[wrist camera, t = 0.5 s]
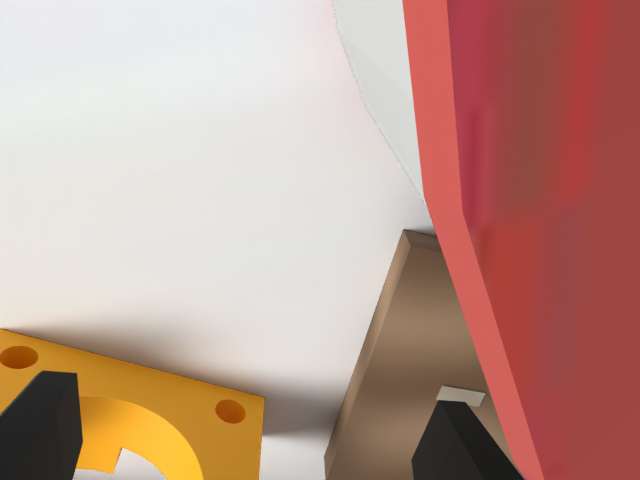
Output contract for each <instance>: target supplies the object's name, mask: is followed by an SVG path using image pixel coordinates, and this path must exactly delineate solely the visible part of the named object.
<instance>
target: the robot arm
mask: <svg viewBox="0 0 640 480" xmlns="http://www.w3.org/2000/svg"><path fill="white" fill-rule="evenodd" d="M82 444H83V435H82V424H81V412H80V401H79V390H78V378H77V373H71V372H57V371H44V370H43V371H41V372H40V373H38V374H37V375H36V376H35V377H34V378H33V379H32V380H31V381H30V382H29V384H28V385H27V386H26V387H25V388H24V389H23V390H22V391H21V392H20V393H19V394H18V396H17V397H16V398H15V399H14V400H13V401H12V402H11V403H10V404H9V405H8V406H7V407H6V409H5V410H4V411H3V412H2V413H1V414H0V480H72V479H73V475H74V472H75V469H76V465H77V462H78V458H79V455H80V451H81V448H82ZM411 462H412V470H413V478H414V480H524V478H523V477H522V476H521V474H520V473H519V472H518V471H517V469H516V468H515V467H514V465H513V464H512V463H511V461H510V460H509V459H508V458H507V456H506V455H505V454H504V452H503V451H502V450H501V448H500V447H499V446H498V444H497V443H496V442H495V440H494V439H493V438H492V436H491V435H490V434H489V432H488V431H487V430H486V428H485V427H484V426H483V424H482V423H481V422H480V420H479V419H478V418H477V416H476V415H475V414H474V412H473V411H472V410H471V408H470V407H469V406H468V404H467V403H466V402H461V401H447V400H438V402H437V404H436V406H435V408H434V411H433V413H432V415H431V417H430V419H429V422H428V424H427V426H426V428H425V431H424V433H423V435H422V437H421V439H420V442H419V444H418V446H417V448H416V450H415V453H414V455H413V457H412V459H411Z"/></svg>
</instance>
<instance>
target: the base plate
mask: <svg viewBox="0 0 640 480" xmlns="http://www.w3.org/2000/svg"><path fill="white" fill-rule="evenodd" d="M438 400H447V401H461V402H466V403H467V404H468V406H469V407H470V408H471V410H472V411H473V412H474V414H475V415H476V416H477V418H478V419H479V420H480V422H481V423H482V424H483V426H484V427H485V428H486V430H487V431H488V432H489V434H490V435H491V436H492V438H493V439H494V440H495V442H496V443H497V444H498V446H499V447H500V448H501V450H502V451H503V452H504V454H505V455H506V456H507V458H508V459H509V460H510V461H511V463H512V464H513V465H514V467H515V468H516V469H517V471H518V472H519V473H520V474H521V476H522V477H523V478H524V476H523V474H522V473H521V471H520V470H519V468H518V467H517V466H516V464H515V463H514V461H513V459H512V456H511V453H510V450H509V447H508V444H507V441H506V438H505V435H504V432H503V429H502V426H501V423H500V420H499V417H498V414H497V411H496V408H495V405H494V402H493V400H492V397H491V394H490V391H489V388H488V385H487V382H486V379H485V376H484V373H483V370H482V367H481V364H480V361H479V358H478V355H477V352H476V349H475V346H474V343H473V340H472V338H471V335H470V332H469V329H468V326H467V323H466V320H465V317H464V314H463V311H462V308H461V305H460V302H459V299H458V296H457V293H456V290H455V287H454V284H453V281H452V279H451V276H450V273H449V270H448V267H447V264H446V261H445V258H444V255H443V252H442V249H441V246H440V243H439V240H438V237H435V236H430V235H426V234H421V233H416V232H412V231H407V230H403V232H402V235H401V237H400V240H399V243H398V246H397V249H396V252H395V255H394V257H393V260H392V263H391V266H390V269H389V272H388V275H387V278H386V280H385V283H384V286H383V289H382V292H381V295H380V298H379V301H378V303H377V306H376V309H375V312H374V315H373V318H372V321H371V324H370V326H369V329H368V332H367V335H366V338H365V341H364V344H363V347H362V349H361V352H360V355H359V358H358V361H357V364H356V367H355V370H354V372H353V375H352V378H351V381H350V384H349V387H348V390H347V392H346V395H345V398H344V401H343V404H342V407H341V410H340V413H339V415H338V418H337V421H336V424H335V427H334V430H333V433H332V436H331V438H330V441H329V444H328V447H327V450H326V453H325V456H324V461H325V477H326V480H414V478H413V470H412V462H411V459H412V457H413V455H414V453H415V450H416V448H417V446H418V444H419V442H420V439H421V437H422V435H423V433H424V431H425V428H426V426H427V424H428V422H429V419H430V417H431V415H432V413H433V411H434V408H435V406H436V404H437V402H438ZM524 480H525V478H524Z"/></svg>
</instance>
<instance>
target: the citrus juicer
mask: <svg viewBox="0 0 640 480" xmlns="http://www.w3.org/2000/svg"><path fill="white" fill-rule="evenodd" d="M332 3H333V9H334V15H335V22H336V27H337V31H338V34H339V37H340V40H341V42H342V45H343V48H344V51H345V53H346V56H347V59H348V62H349V64H350V67H351V70H352V73H353V75H354V78H355V81H356V84H357V86H358V89H359V92H360V95H361V97H362V100H363V103H364V106H365V108H366V109H367V111H368V113H369V114H370V116H371V118H372V119H373V121H374V122H375V124H376V126H377V127H378V129H379V131H380V132H381V134H382V136H383V137H384V139H385V140H386V142H387V144H388V145H389V147H390V149H391V150H392V152H393V153H394V155H395V157H396V158H397V160H398V162H399V163H400V165H401V166H402V168H403V170H404V171H405V173H406V175H407V176H408V178H409V179H410V181H411V183H412V184H413V186H414V188H415V189H416V191H417V192H418V194H419V196H420V197H421V199H422V201H423V202H424V204H425V205H426V207H427V209H428V211H429V214H430V217H431V219H432V222H433V225H434V228H435V231H436V234H437V237H438V240H439V243H440V246H441V249H442V252H443V255H444V258H445V261H446V264H447V267H448V270H449V273H450V276H451V279H452V281H453V284H454V287H455V290H456V293H457V296H458V299H459V302H460V305H461V308H462V311H463V314H464V317H465V320H466V323H467V326H468V329H469V332H470V335H471V338H472V340H473V343H474V346H475V349H476V352H477V355H478V358H479V361H480V364H481V367H482V370H483V373H484V376H485V379H486V382H487V385H488V388H489V391H490V394H491V397H492V400H493V402H494V405H495V408H496V411H497V414H498V417H499V420H500V423H501V426H502V429H503V432H504V435H505V438H506V441H507V444H508V447H509V450H510V453H511V456H512V459H513V461H514V463H515V464H516V466H517V467H518V468H519V470H520V471H521V473H522V474H523V475H524V477H525V478H526V480H640V0H332Z"/></svg>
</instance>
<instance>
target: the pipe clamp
mask: <svg viewBox="0 0 640 480" xmlns="http://www.w3.org/2000/svg"><path fill="white" fill-rule="evenodd" d="M43 370H44V371H57V372H71V373H77V378H78V390H79V401H80V412H81V424H82V435H83V444H82V448H81V451H80V455H79V458H78V462H77V465H76V469H91V470H98V471H103V472H107V473H111V474H113V471H114V469H115V466H116V463H117V461H118V458H119V456H120V453H121V450H122V448H125V449H128V450H130V451H132V452H134V453H136V454H138V455H140V456H142V457H143V458H145V459H146V460H148V461H149V462H151V463H152V464H153V465H154V466H155V467H157V468H158V469H159V470H160V471H161V472H162V473H163V474H164V475H165V476H166V478H167V479H168V480H259V468H260V455H261V441H262V428H263V415H264V402H265V398H264V397H261V396H257V395H253V394H249V393H245V392H241V391H238V390H234V389H230V388H226V387H222V386H218V385H214V384H211V383H207V382H203V381H199V380H195V379H191V378H187V377H184V376H180V375H176V374H172V373H168V372H164V371H161V370H157V369H153V368H149V367H145V366H141V365H137V364H134V363H130V362H126V361H122V360H118V359H114V358H110V357H107V356H103V355H99V354H95V353H91V352H87V351H84V350H80V349H76V348H72V347H68V346H64V345H60V344H57V343H53V342H49V341H45V340H41V339H37V338H33V337H30V336H26V335H22V334H18V333H14V332H10V331H7V330H3V329H0V414H1V413H2V412H3V411H4V410H5V409H6V407H7V406H8V405H9V404H10V403H11V402H12V401H13V400H14V399H15V398H16V397H17V396H18V394H19V393H20V392H21V391H22V390H23V389H24V388H25V387H26V386H27V385H28V384H29V382H30V381H31V380H32V379H33V378H34V377H35V376H36V375H37V374H38V373H40V372H41V371H43Z"/></svg>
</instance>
